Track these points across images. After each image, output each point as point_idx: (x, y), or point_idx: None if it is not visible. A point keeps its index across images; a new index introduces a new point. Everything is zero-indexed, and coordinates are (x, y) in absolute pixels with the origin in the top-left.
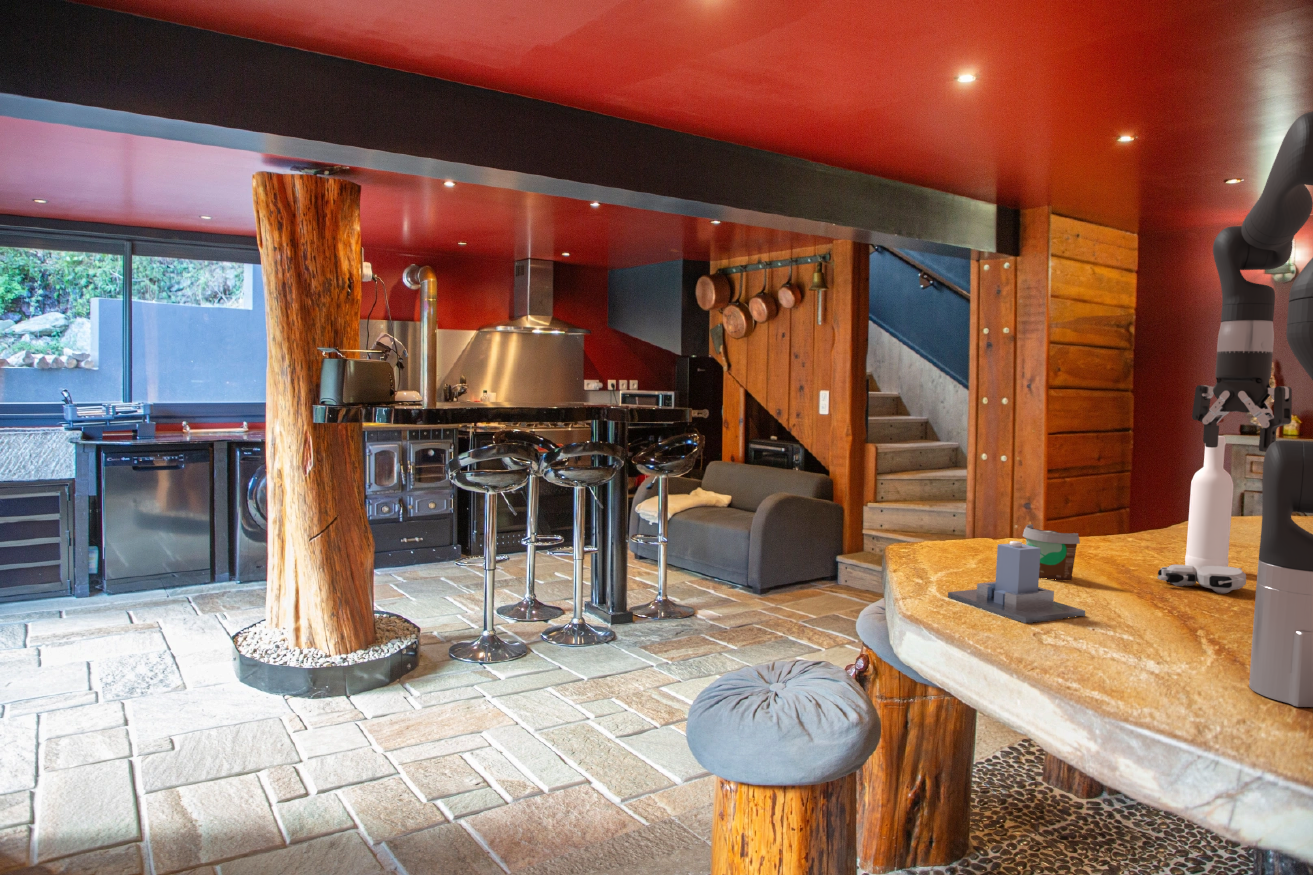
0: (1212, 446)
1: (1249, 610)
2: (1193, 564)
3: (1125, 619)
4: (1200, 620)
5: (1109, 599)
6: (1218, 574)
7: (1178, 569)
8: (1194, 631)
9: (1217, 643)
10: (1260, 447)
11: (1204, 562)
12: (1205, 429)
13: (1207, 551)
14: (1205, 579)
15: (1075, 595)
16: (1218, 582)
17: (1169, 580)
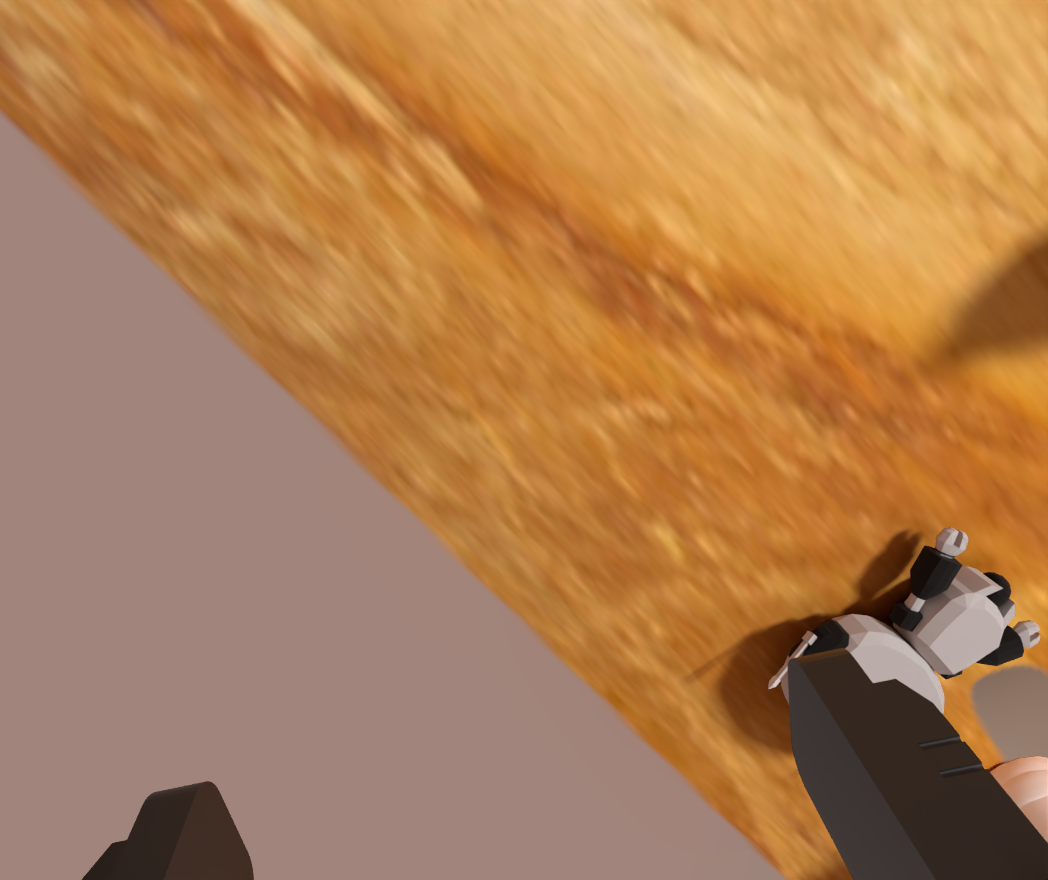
0: (795, 700)
1: (638, 562)
2: (1040, 772)
3: (639, 14)
4: (574, 307)
5: (874, 195)
6: None
7: (952, 610)
8: (463, 163)
9: (325, 117)
10: (169, 806)
11: (1019, 793)
12: (1012, 839)
13: (1039, 828)
14: (856, 626)
15: (964, 96)
16: (813, 633)
17: (927, 547)
